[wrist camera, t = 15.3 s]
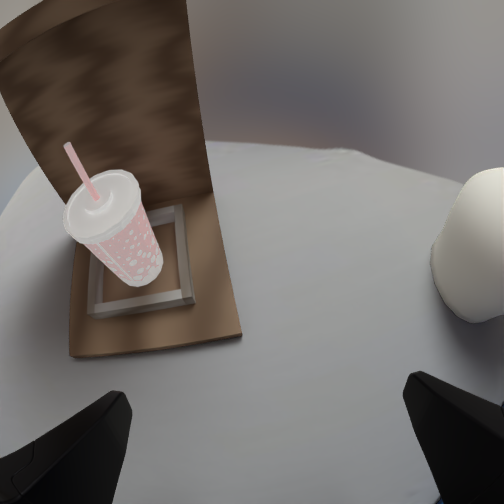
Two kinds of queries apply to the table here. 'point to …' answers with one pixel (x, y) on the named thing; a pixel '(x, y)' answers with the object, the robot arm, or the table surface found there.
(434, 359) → the table surface
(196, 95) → the wooden headphone stand
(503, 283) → the vase
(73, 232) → the beverage cup
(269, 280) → the table surface
